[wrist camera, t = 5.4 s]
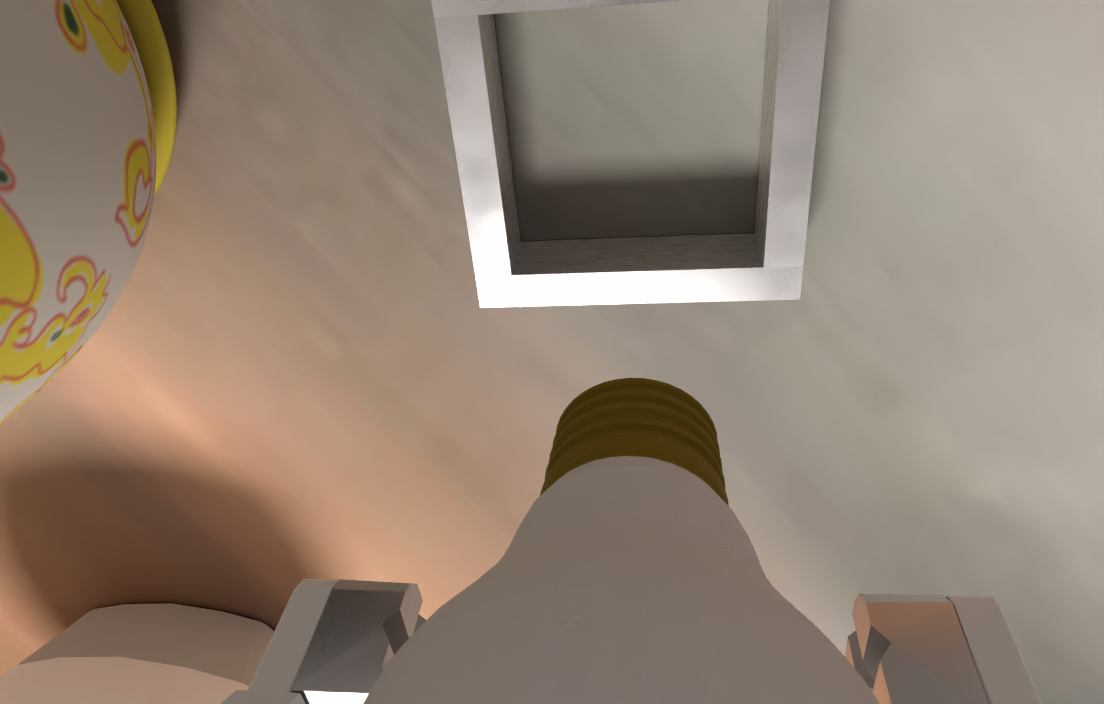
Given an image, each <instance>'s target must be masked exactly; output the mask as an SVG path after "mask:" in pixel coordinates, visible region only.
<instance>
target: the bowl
mask: <svg viewBox="0 0 1104 704" xmlns="http://www.w3.org/2000/svg"><path fill="white" fill-rule="evenodd" d="M273 634H274V631H273V630H272V629H271V628H270V627H268V626H267V625H266V624H265V623H262V622H260V621H257V620H253V619H249V618H245V617H242V616H238V615H234V614H230V613H227V612H223V611H217V610H211V609H205V608H198V607H192V606H186V605H180V604H174V603H164V604H123V605H116V606H110V607H104V608H97V609H93V610H91V611H89V612H88V613H86V614H85V615H84V616H82V617H81V618H80V619H78V620H77V621H76V622H74V623H73V624H72V625H70V626H69V627H68V628H66V629H65V630H64V631H62V632H61V633H60V634H58V635H57V636H56V637H54V638H53V639H52V640H50V641H49V642H48V643H46V644H45V645H44V646H42V647H41V648H40V649H38V650H37V651H36V652H34V653H33V654H32V655H30V656H29V657H28V658H26V659H25V660H24V661H22V662H21V663H20V664H18V665H17V666H15V667H13V668H12V669H10V670H9V671H8V672H6V673H5V674H4V675H2V676H1V677H0V704H221V703H222V702H223V701H224V700H225V699H227V698H228V697H229V696H230V695H231V694H233V693H234V692H235V691H236V690H248V688H249V686H250V684H251V682H252V680H253V677H254V675H255V673H256V671H257V669H258V666H259V664H260V662H261V660H262V658H263V655H264V653H265V651H266V649H267V647H268V645H269V642H270V640H271V638H272V636H273Z"/></svg>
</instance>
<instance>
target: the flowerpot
mask: <svg viewBox="0 0 1104 704" xmlns="http://www.w3.org/2000/svg"><path fill="white" fill-rule="evenodd" d="M176 125H177V99H176V86H175V80H174V73H173V67H172V63H171V58H170V53H169V49H168V46H167V43H166V39H165V36H164V32H163V29H162V27H161V24H160V21H159V18H158V16H157V13H156V10H155V8H154V6H153V3H152V1H151V0H0V423H1V422H3V421H4V420H5V419H6V418H8V417H9V416H10V415H11V414H13V413H14V412H15V411H16V410H17V409H19V408H20V407H21V406H22V405H23V404H25V403H26V402H27V401H28V400H29V399H31V398H32V397H33V396H34V395H35V394H36V393H38V392H39V391H40V390H41V389H42V388H43V387H44V386H45V385H46V384H48V383H49V382H50V381H51V380H52V379H53V378H54V377H55V376H56V375H57V374H58V373H59V372H60V371H61V370H62V369H63V368H64V367H65V366H66V365H67V364H68V362H69V361H70V360H71V359H72V358H73V357H74V356H75V355H76V354H77V353H78V352H79V351H80V350H81V348H82V347H83V346H84V345H85V344H86V343H87V342H88V341H89V339H90V338H91V337H92V336H93V334H94V333H95V332H96V331H97V329H98V328H99V326H100V325H101V324H102V322H103V321H104V320H105V318H106V317H107V315H108V314H109V313H110V311H111V310H112V308H113V307H114V305H115V304H116V302H117V300H118V298H119V297H120V295H121V293H122V291H123V289H124V288H125V286H126V284H127V282H128V280H129V278H130V276H131V274H132V271H133V269H134V267H135V264H136V262H137V260H138V257H139V255H140V252H141V249H142V246H143V243H144V240H145V236H146V233H147V229H148V226H149V222H150V217H151V211H152V206H153V201H154V196H155V194H156V193H157V191H158V189H159V187H160V185H161V183H162V182H163V179H164V177H165V174H166V172H167V169H168V166H169V163H170V160H171V156H172V152H173V147H174V142H175V135H176Z"/></svg>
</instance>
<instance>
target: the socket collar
mask: <svg viewBox="0 0 1104 704" xmlns="http://www.w3.org/2000/svg"><path fill="white" fill-rule="evenodd" d="M665 1H679V0H431V2H432V8H433V14H434V21H435V27H436V33H437V39H438V46H439V52H440V58H441V65H442V71H443V77H444V83H445V90H446V96H447V102H448V108H449V115H450V121H451V127H452V133H453V140H454V146H455V152H456V159H457V165H458V171H459V177H460V184H461V190H462V196H463V202H464V209H465V215H466V221H467V228H468V234H469V240H470V246H471V253H472V259H473V265H474V271H475V278H476V284H477V290H478V296H479V303H480V308H488V307H527V306H565V305H604V304H642V303H681V302H720V301H758V300H797V299H800V294H801V284H802V274H803V264H804V254H805V244H806V234H807V224H808V214H809V204H810V194H811V184H812V174H813V164H814V154H815V144H816V134H817V125H818V115H819V105H820V95H821V85H822V75H823V65H824V55H825V45H826V35H827V25H828V15H829V5H830V0H769V11H768V28H767V44H766V60H765V77H764V93H763V110H762V126H761V143H760V159H759V175H758V192H757V208H756V225H755V233H744V234H716V235H688V236H661V237H633V238H605V239H578V240H550V241H522V242H521V240H520V232H519V224H518V215H517V207H516V199H515V190H514V182H513V174H512V165H511V157H510V149H509V140H508V132H507V124H506V115H505V107H504V99H503V91H502V82H501V74H500V66H499V57H498V49H497V41H496V32H495V24H494V16H493V14H499V13H513V12H527V11H541V10H554V9H568V8H582V7H596V6H610V5H624V4H638V3H651V2H665Z"/></svg>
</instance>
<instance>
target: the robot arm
mask: <svg viewBox="0 0 1104 704" xmlns="http://www.w3.org/2000/svg"><path fill="white" fill-rule="evenodd" d="M421 604H422V597H421V594H420V591H419V588H418V585H417V584H410V583H392V582H374V581H356V580H336V579H308V578H304V579H303V580H302V581H301V582H300V583H299V584H298V585H297V586H296V587H295V589H294V590H293V592H292V594H291V596H290V599H289V601H288V603H287V605H286V607H285V610H284V612H283V614H282V616H281V618H280V621H279V623H278V625H277V627H276V629H275V631H274V634H273V636H272V638H271V640H270V642H269V645H268V647H267V649H266V651H265V653H264V655H263V658H262V660H261V662H260V664H259V666H258V669H257V671H256V673H255V675H254V677H253V680H252V682H251V684H250V686H249V688H248V690H236V691H235V692H234V693H233V694H231V695H230V696H229V697H228V698H227V699H225V700H224V701H223V702H222V703H221V704H363V703H364V701H365V699H366V697H367V696H368V694H369V692H370V690H371V689H372V687H373V685H374V683H375V682H376V680H377V678H378V677H379V675H380V674H381V672H382V671H383V670H384V668H385V667H386V665H387V664H388V662H389V661H390V660H391V659H392V657H393V656H394V655H395V654H396V652H397V651H398V650H399V649H400V648H401V646H402V645H403V644H404V643H405V642H406V641H407V640H408V639H409V638H410V637H411V636H412V635H413V634H414V633H415V632H416V631H417V630H418V629H419V627H420V626H421V625H422V624H423V623H424V622H426V620H425V619H424V618H423V617H421V616H420V615H419V611H420V607H421ZM852 614H853V619H854V623H855V627H856V631H855V632H853V633H852V634H851V635H849V636H848V639H847V646H846V653H845V658H846V659H847V660H848V661H849V662H850V664H851V665H852V666H853V667H854V668H855V669H856V671H857V672H858V673H859V674H860V675H861V677H862V678H863V679H864V681H865V682H866V684H867V685H868V686H869V688H870V689H871V691H872V692H873V694H874V695H875V697H876V698H877V700H878V702H879V704H1042V703H1041V700H1040V698H1039V696H1038V693H1037V691H1036V689H1035V686H1034V684H1033V682H1032V679H1031V677H1030V675H1029V672H1028V670H1027V668H1026V665H1025V663H1024V661H1023V658H1022V656H1021V654H1020V651H1019V649H1018V647H1017V644H1016V642H1015V640H1014V637H1013V635H1012V633H1011V630H1010V628H1009V626H1008V623H1007V621H1006V618H1005V616H1004V614H1003V611H1002V609H1001V607H1000V605H999V604H998V603H997V602H996V601H995V600H994V599H993V598H991V597H960V596H946V597H944V596H943V595H900V594H859V595H858V596H857V598H856V599H855V602H854V607H853V612H852Z"/></svg>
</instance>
